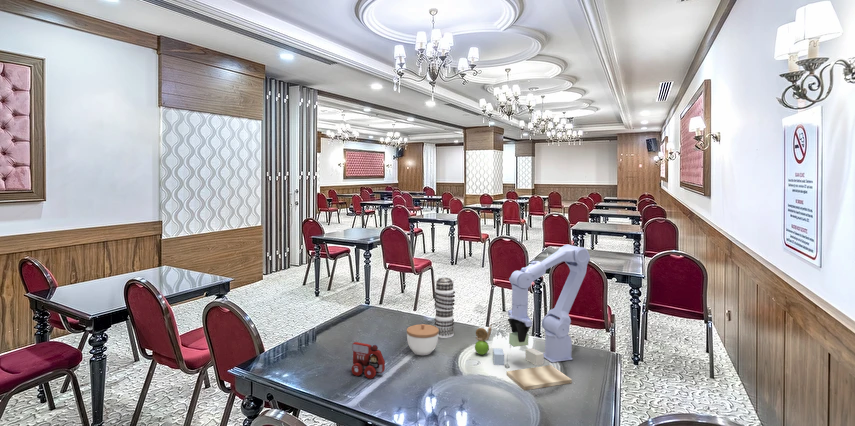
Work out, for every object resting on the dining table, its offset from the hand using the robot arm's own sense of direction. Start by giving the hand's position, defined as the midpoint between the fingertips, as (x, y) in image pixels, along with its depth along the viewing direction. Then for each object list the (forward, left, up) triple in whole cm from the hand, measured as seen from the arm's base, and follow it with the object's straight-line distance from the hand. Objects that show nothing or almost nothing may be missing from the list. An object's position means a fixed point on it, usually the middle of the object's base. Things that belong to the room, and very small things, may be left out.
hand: (518, 339), depth 159 cm
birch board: (0, +13, -9) cm, 16 cm away
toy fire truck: (+55, -8, -9) cm, 56 cm away
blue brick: (+7, -4, -9) cm, 12 cm away
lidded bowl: (+31, -21, -9) cm, 38 cm away
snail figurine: (+9, -12, -9) cm, 17 cm away
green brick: (0, 0, -2) cm, 2 cm away
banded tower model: (+16, -37, -9) cm, 41 cm away
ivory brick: (-6, 0, -9) cm, 11 cm away
